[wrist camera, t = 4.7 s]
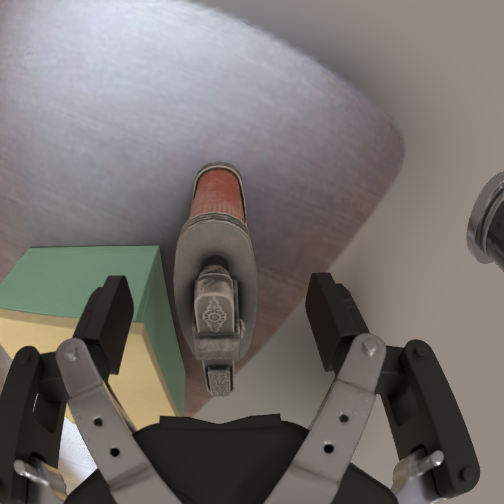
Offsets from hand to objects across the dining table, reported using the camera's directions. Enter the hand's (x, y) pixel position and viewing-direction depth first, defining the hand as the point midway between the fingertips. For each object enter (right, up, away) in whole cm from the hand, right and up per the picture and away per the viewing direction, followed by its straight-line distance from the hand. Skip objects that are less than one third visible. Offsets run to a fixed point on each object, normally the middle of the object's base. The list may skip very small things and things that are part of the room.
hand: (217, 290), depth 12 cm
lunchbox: (-11, -4, +10) cm, 15 cm away
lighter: (-1, +3, +6) cm, 7 cm away
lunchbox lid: (-10, -8, +4) cm, 14 cm away
